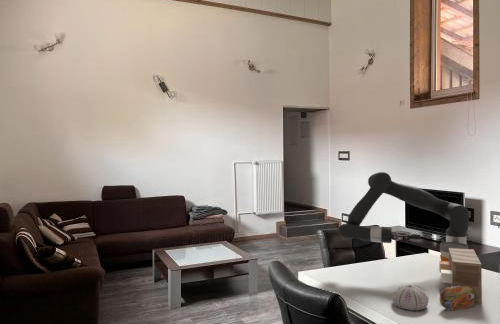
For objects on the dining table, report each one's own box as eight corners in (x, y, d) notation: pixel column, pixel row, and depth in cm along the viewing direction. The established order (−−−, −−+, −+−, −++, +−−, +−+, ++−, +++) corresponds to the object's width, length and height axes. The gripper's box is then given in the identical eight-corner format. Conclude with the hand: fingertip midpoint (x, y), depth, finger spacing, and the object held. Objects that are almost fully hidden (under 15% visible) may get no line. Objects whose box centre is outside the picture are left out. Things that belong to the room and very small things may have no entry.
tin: (444, 312, 147) (444, 289, 147) (438, 308, 150) (438, 287, 150) (476, 307, 151) (476, 285, 151) (470, 304, 154) (469, 283, 154)
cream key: (440, 278, 166) (440, 269, 166) (459, 280, 164) (459, 271, 164) (441, 282, 162) (441, 272, 162) (460, 284, 159) (460, 274, 159)
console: (448, 282, 179) (448, 247, 179) (473, 284, 175) (473, 249, 175) (453, 301, 157) (452, 261, 157) (481, 304, 153) (481, 263, 153)
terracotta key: (439, 269, 179) (439, 260, 179) (456, 271, 176) (456, 262, 176) (439, 272, 175) (439, 263, 175) (457, 274, 172) (457, 265, 172)
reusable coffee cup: (461, 271, 195) (461, 241, 194) (473, 279, 182) (473, 247, 182) (435, 271, 196) (435, 241, 196) (445, 279, 183) (445, 247, 183)
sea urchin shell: (418, 316, 144) (417, 294, 144) (385, 305, 154) (384, 285, 154) (434, 306, 152) (434, 286, 152) (402, 297, 163) (402, 278, 163)
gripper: (379, 229, 180) (420, 231, 174) (382, 224, 193) (420, 226, 186) (379, 245, 181) (420, 248, 174) (382, 239, 193) (420, 242, 186)
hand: (420, 237), depth 180 cm, fingers closed
